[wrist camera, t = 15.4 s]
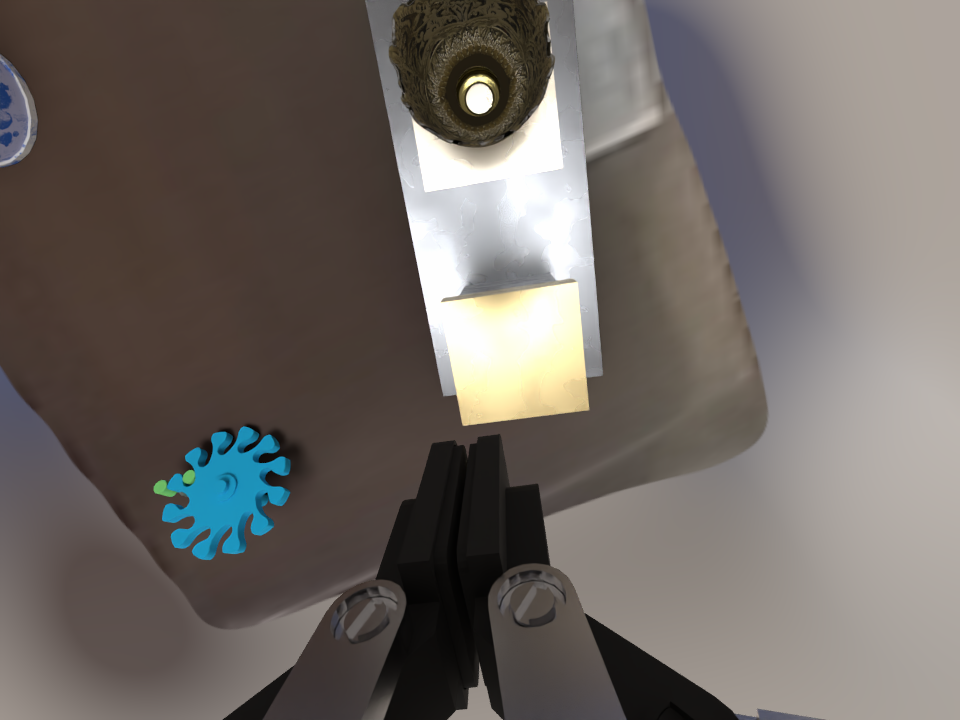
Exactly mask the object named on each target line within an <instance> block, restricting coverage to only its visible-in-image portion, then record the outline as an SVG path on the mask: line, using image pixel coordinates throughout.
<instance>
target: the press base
mask: <svg viewBox="0 0 960 720" xmlns="http://www.w3.org/2000/svg"><path fill="white" fill-rule="evenodd" d="M407 1H408V0H365V2H366V7H367V12H368V17H369V22H370V27H371V32H372V37H373V42H374V47H375V52H376V57H377V62H378V67H379V73H380V78H381V83H382V88H383V93H384V98H385V103H386V108H387V113H388V118H389V123H390V128H391V133H392V138H393V143H394V148H395V153H396V158H397V164H398V169H399V174H400V179H401V184H402V189H403V194H404V199H405V204H406V209H407V214H408V219H409V224H410V229H411V234H412V239H413V244H414V250H415V255H416V260H417V265H418V270H419V275H420V280H421V285H422V290H423V295H424V300H425V305H426V310H427V315H428V320H429V325H430V330H431V336H432V341H433V346H434V351H435V356H436V361H437V366H438V371H439V376H440V381H441V386H442V391H443V396H449V395H457V392H456V387H455V381H454V376H453V371H452V365H451V360H450V355H449V349H448V344H447V339H446V333H445V328H444V323H443V317H442V312H441V307H440V302H441V301H442V299H443V298H446V297H452V296H459V295H466V294H472V293H479V292H485V291H492V290H499V289H505V288H512V287H518V286H525V285H532V284H538V283H545V282H551V281H558V280H564V279H571V278H573V279H574V280H575V281H577V284H578V295H579V305H580V316H581V327H582V338H583V349H584V359H585V370H586V378H587V377H595V376H602V375H603V369H602V357H601V345H600V332H599V320H598V307H597V295H596V282H595V270H594V258H593V245H592V233H591V220H590V208H589V196H588V183H587V171H586V158H585V146H584V133H583V121H582V109H581V96H580V84H579V71H578V59H577V46H576V34H575V22H574V9H573V0H539V1H542V2H545V4H546V5H547V8H548V11H549V15H550V20H549V23H548V32H549V37H550V40H551V53H552V54H553V55H555V64H554V68H553V71H552V75H551V77H550V79H549V83H548V87H547V91H546V94H545V96H544V99H543V100H542V102H541V104H540V105H539V107H538V108H537V109H536V111H535V112H534V113H533V114H532V116H531V117H530V118H529V119H528V120H527V121H526V122H525V123H524V124H523V125H522V126H521V128H520V129H519V130H518V131H516V132H515V133H513V134H512V135H511V136H509V137H508V138H506V139H505V140H503V141H501V142H499V143H496V144H494V145H490V146H487V147H480V148H471V147H464V146H459V145H456V144H450V143H447V142H445V141H443V140H441V139H439V138H438V137H437V136H435V135H434V134H432V133H430V132H429V131H427V130H425V129H423V128H422V127H421V126H419V125H418V124H417V123H416V122H415V121H414V119H413V118H412V116H411V114H410V111H409V110H408V109H407V108H406V107H405V105H404V104H403V102H402V101H401V98H400V96H401V95H402V92H401V89H400V88H399V85H398V77H397V72H396V70H395V68H394V66H393V65H392V64H391V62H390V59H389V46H390V45H392V19H393V15H394V13H395V11H396V10H397V9H398V7H399V6H400V5H401V4H402V3H403V2H404V3H405V2H407ZM401 97H402V96H401ZM492 101H493V96H492V92H491V90H490V89H489V87H487V86H486V85H484V84H475V85H473V86H472V87H471V88H470V89H469V90H468V92H467V96H466V102H467V105H468V107H469V109H470V110H471V111H473V112H474V113H478V114H481V113H484V112H486V111H487V110H489V108H490V107H491V105H492Z"/></svg>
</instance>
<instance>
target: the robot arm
mask: <svg viewBox="0 0 960 720" xmlns="http://www.w3.org/2000/svg"><path fill="white" fill-rule="evenodd" d="M479 662H480V666H481V671H482V675H483V679H484V683H485V686H487V690H488V694H489V699H490V703H491V707H492V709H493V710H494V711H495V712H496V713H497V714H498V715H499V716H500V717H501V718H502V719H503V720H824V719H818V718H811V717H806V716H799V715H793V714H787V713H781V712H774V711H768V710H762V709H757V717H752V716H746V715H740V714H734V713H733V711H732V710H731V709H729V708H728V707H727V706H726V705H724V704H723V703H722V702H721V701H719V700H718V699H717V698H716V697H715V696H713V695H712V694H710V693H708V692H707V691H705V690H704V689H702V688H701V687H699V686H698V685H696V684H694V683H693V682H691V681H690V680H688V679H687V678H685V677H684V676H682V675H680V674H679V673H677V672H676V671H674V670H673V669H671V668H669V667H668V666H666V665H665V664H663V663H662V662H660V661H659V660H657V659H655V658H654V657H652V656H651V655H649V654H648V653H646V652H645V651H643V650H641V649H640V648H638V647H637V646H635V645H634V644H632V643H630V642H629V641H627V640H626V639H624V638H623V637H621V636H620V635H618V634H617V633H615V632H613V631H612V630H610V629H609V628H607V627H606V626H604V625H603V624H601V623H599V622H598V621H596V620H595V619H593V618H592V617H590V616H588V615H587V614H585V613H584V611H583V608H582V606H581V603H580V601H579V598H578V596H577V593H576V590H575V588H574V586H573V584H572V583H571V581H570V580H569V578H568V577H567V576H566V575H565V574H563V573H562V572H561V571H560V570H558V569H556V568H554V567H551V566H550V560H549V553H548V546H547V539H546V532H545V526H544V519H543V512H542V506H541V499H540V493H539V486H538V484H532V485H524V486H516V487H510V485H509V479H508V474H507V468H506V462H505V457H504V451H503V445H502V440H501V436H500V434H498V435H491V436H483V437H478V440H477V443H475V444H470V448H469V456H468V458H467V454H466V449H465V446H464V445H460V446H457V443H456V441H455V440H454V441H446V442H439V443H433V444H432V446H431V450H430V453H429V456H428V460H427V463H426V467H425V470H424V474H423V477H422V480H421V484H420V487H419V491H418V494H417V497H416V499H409V500H404V501H403V502H402V504H401V506H400V509H399V512H398V515H397V518H396V521H395V524H394V527H393V530H392V533H391V536H390V539H389V542H388V545H387V547H386V550H385V553H384V556H383V559H382V562H381V565H380V568H379V571H378V574H377V577H376V580H371V581H367V582H364V583H361V584H358V585H356V586H354V587H353V588H351V589H349V590H347V591H346V592H344V593H343V594H342V595H341V596H340V597H339V598H337V599H336V600H335V601H334V603H333V604H332V605H331V606H330V608H329V609H328V610H327V612H326V613H325V615H324V617H323V618H322V620H321V622H320V623H319V625H318V627H317V629H316V630H315V632H314V634H313V635H312V637H311V639H310V640H309V642H308V644H307V645H306V647H305V649H304V650H303V652H302V654H301V656H300V657H299V659H298V661H297V662H296V664H295V665H294V666H293V667H291V668H290V669H289V670H287V671H286V672H285V673H283V674H282V675H281V676H280V677H278V678H277V679H276V680H274V681H273V682H272V683H270V684H269V685H268V686H266V687H265V688H264V689H262V690H261V691H260V692H258V693H257V694H256V695H254V696H253V697H252V698H251V699H249V700H248V701H247V702H245V703H244V704H243V705H241V706H240V707H239V708H237V709H236V710H235V711H233V712H232V713H231V714H229V715H228V716H227V717H226V718H224V719H223V720H447V719H448V718H449V717H450V716H451V715H452V714H453V713H454V712H455V711H456V710H460V709H467V705H468V690H469V688H471V687H477V686H478V679H479Z"/></svg>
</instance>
